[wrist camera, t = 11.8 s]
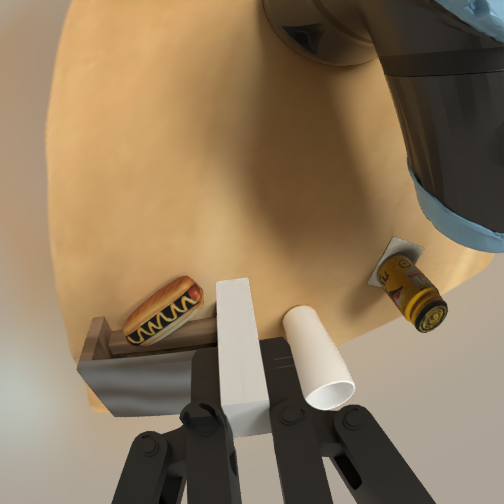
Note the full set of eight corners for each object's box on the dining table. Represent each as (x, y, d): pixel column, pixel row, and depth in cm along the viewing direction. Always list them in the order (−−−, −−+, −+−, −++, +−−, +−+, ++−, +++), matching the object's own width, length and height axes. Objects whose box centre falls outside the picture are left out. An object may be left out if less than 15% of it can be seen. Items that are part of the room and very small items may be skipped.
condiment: (366, 283, 44) (404, 337, 34) (392, 235, 41) (440, 283, 30) (398, 290, 46) (435, 339, 36) (423, 247, 43) (469, 291, 32)
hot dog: (212, 285, 40) (214, 310, 36) (146, 333, 43) (143, 358, 38) (186, 261, 38) (185, 285, 33) (121, 314, 40) (115, 338, 36)
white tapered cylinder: (297, 292, 43) (333, 375, 30) (328, 310, 46) (366, 386, 33) (267, 323, 45) (291, 407, 32) (299, 337, 48) (327, 415, 35)
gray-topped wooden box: (93, 318, 40) (76, 369, 32) (230, 298, 42) (239, 353, 33) (122, 368, 46) (114, 417, 38) (242, 353, 48) (251, 404, 39)
